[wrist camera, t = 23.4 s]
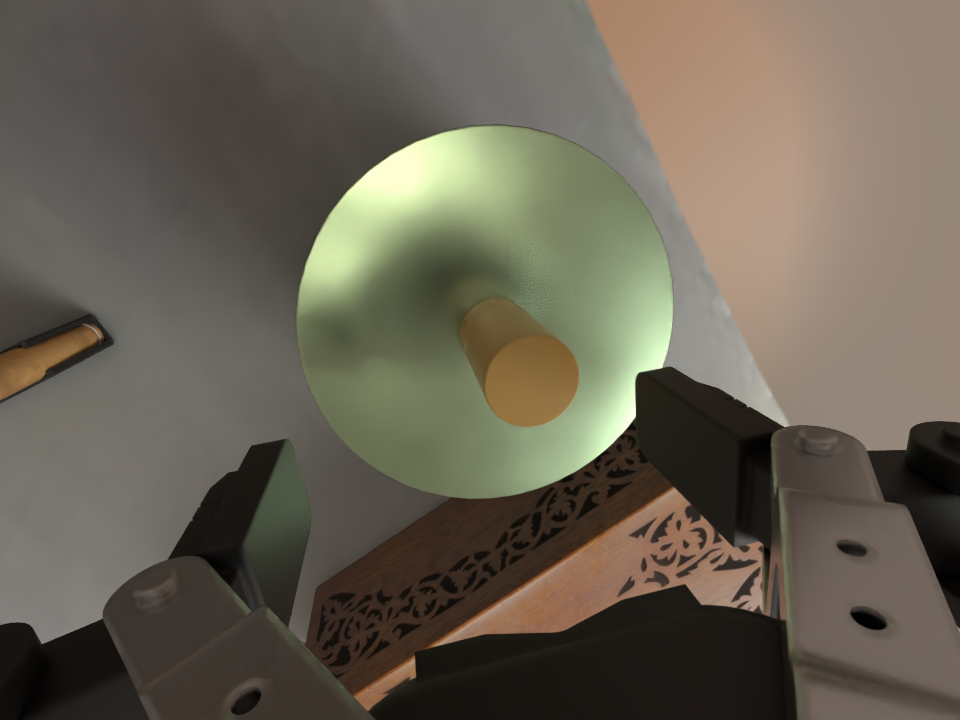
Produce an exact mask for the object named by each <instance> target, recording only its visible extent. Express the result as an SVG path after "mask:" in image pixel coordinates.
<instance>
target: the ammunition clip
mask: <svg viewBox="0 0 960 720" xmlns="http://www.w3.org/2000/svg"><path fill="white" fill-rule="evenodd" d="M113 344H114V341H113V340H112V338H111V337H110V336H109V335H108V333H107V332H106V331H105V330H104V328H103V327H102V326H101V325H100V323H99V322H98V321H97V320H96V319H95V317H94V316H93V315H87V316H85V317H82V318H80V319H77V320H75V321H72V322H70V323H67V324H64V325H62V326H59V327H57V328H54V329H52V330H49V331H47V332H44V333H42V334H39V335H37V336H34V337H32V338H29V339H27V340H24V341H22V342H20V343H18V344H16V345H14V346H12V347H10V348H8V349H6V350H4V351H2V352H0V403H2V402H4V401H6V400H8V399H10V398H12V397H14V396H16V395H18V394H20V393H22V392H24V391H25V390H27V389H29V388H31V387H33V386H35V385H37V384H39V383H41V382H43V381H45V380H47V379H49V378H51V377H53V376H55V375H56V374H58V373H60V372H62V371H64V370H66V369H68V368H70V367H72V366H73V365H75V364H77V363H79V362H81V361H83V360H85V359H87V358H89V357H90V356H92V355H94V354H96V353H98V352H100V351H102V350H104V349H106V348H107V347H109V346H111V345H113Z"/></svg>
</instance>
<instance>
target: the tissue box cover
mask: <svg viewBox="0 0 960 720" xmlns="http://www.w3.org/2000/svg"><path fill="white" fill-rule="evenodd" d="M762 553H763V544H762V543H760V542H755V543H751V544H747V545H743V546H739V547H735V548H733V547H732V546H731V545H730V544H729V543H728V542H727V541H726V540H725V538H724V537H723V536H722V535H721V534H720V533H719V532H718V531H717V530H716V529H715V528H714V527H713V526H712V525H711V524H710V523H709V522H708V521H707V520H706V519H705V518H704V517H703V516H702V515H701V514H700V513H699V512H698V511H697V510H696V509H695V508H694V507H693V506H692V505H691V504H690V503H689V502H688V501H687V500H686V499H685V498H684V497H683V496H682V495H681V494H680V493H679V492H678V491H677V490H676V489H675V488H674V487H673V486H672V485H671V483H670V482H669V481H668V480H667V479H666V478H665V477H664V476H663V475H662V474H661V473H660V472H659V471H658V470H657V469H656V468H655V467H654V466H653V465H652V464H651V463H650V462H649V461H648V460H647V459H646V458H645V457H644V455H643V454H642V452H641V450H640V447H639V444H638V441H637V435H636V417H635V419H634V420H633V421H632V423H631V424H630V425H629V427H628V428H627V429H626V430H625V431H624V432H623V433H622V434H621V435H620V436H619V437H618V439H617V440H616V441H615V442H614V443H613V444H612V445H611V446H610V447H608V448H607V449H606V450H605V451H604V452H602V453H601V454H600V455H599V456H598V457H596V458H595V459H594V460H592V461H591V462H589V463H588V464H586V465H585V466H583V467H582V468H580V469H579V470H577V471H576V472H574V473H572V474H570V475H568V476H566V477H564V478H562V479H561V480H559V481H557V482H554V483H552V484H549V485H546V486H544V487H541V488H539V489H536V490H532V491H528V492H525V493H521V494H517V495H512V496H505V497H498V498H487V499H465V498H454V497H453V498H451V499H450V500H448V501H447V502H445V503H444V504H442V505H441V506H439V507H438V508H436V509H435V510H433V511H432V512H430V513H429V514H427V515H426V516H424V517H423V518H421V519H420V520H418V521H417V522H415V523H414V524H412V525H411V526H409V527H408V528H406V529H405V530H403V531H402V532H400V533H399V534H397V535H396V536H394V537H393V538H391V539H390V540H388V541H387V542H385V543H384V544H382V545H381V546H379V547H378V548H376V549H375V550H373V551H372V552H370V553H369V554H367V555H366V556H364V557H363V558H361V559H360V560H358V561H357V562H355V563H354V564H352V565H351V566H349V567H348V568H346V569H345V570H343V571H342V572H340V573H339V574H337V575H336V576H334V577H333V578H331V579H330V580H328V581H327V582H325V583H324V584H322V585H321V586H319V587H318V588H316V592H315V597H314V602H313V608H312V613H311V618H310V623H309V628H308V634H307V639H306V644H305V646H306V647H307V648H308V649H309V651H310V652H311V653H312V654H313V655H314V656H315V657H316V658H317V659H318V660H319V661H320V662H321V663H322V664H323V665H324V666H325V667H326V668H327V669H328V670H329V671H330V672H331V673H332V675H333V676H334V677H335V678H336V679H337V680H338V681H339V682H340V683H341V684H342V685H343V686H344V687H345V688H346V689H347V690H348V691H349V692H350V693H351V694H352V695H353V696H354V697H355V699H356V700H357V701H358V702H359V703H360V704H361V705H362V706H363V707H364V708H365V709H366V710H367V711H369V710H370V709H371V708H372V707H373V706H374V705H375V704H377V703H378V702H379V701H380V700H382V699H383V698H384V697H385V696H386V695H388V694H389V693H391V692H392V691H394V690H395V689H397V688H398V687H400V686H401V685H403V684H404V683H406V682H408V681H410V680H412V679H413V678H415V677H416V667H415V651H419V650H423V649H427V648H431V647H435V646H439V645H443V644H447V643H451V642H455V641H459V640H463V639H467V638H471V637H475V636H479V635H483V634H511V633H552V632H560V631H564V630H566V629H568V628H570V627H572V626H574V625H576V624H577V623H579V622H581V621H583V620H585V619H587V618H589V617H591V616H592V615H594V614H596V613H598V612H600V611H602V610H604V609H606V608H608V607H609V606H611V605H613V604H615V603H617V602H619V601H621V600H623V599H627V598H631V597H635V596H639V595H643V594H647V593H651V592H655V591H659V590H663V589H667V588H671V587H675V586H679V585H683V584H686V586H687V587H688V588H689V589H690V591H691V592H692V593H693V595H694V596H695V597H696V599H697V600H698V601H699V603H700V604H701V605H718V606H728V607H734V608H740V609H745V610H749V611H753V612H757V613H761V614H763V609H762Z"/></svg>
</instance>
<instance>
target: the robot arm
mask: <svg viewBox="0 0 960 720" xmlns="http://www.w3.org/2000/svg"><path fill="white" fill-rule="evenodd" d="M635 404H636V435H637V441H638V444H639V447H640V450H641V452H642V454H643V455H644V457H645V458H646V459H647V460H648V461H649V462H650V463H651V464H652V465H653V466H654V467H655V468H656V469H657V470H658V471H659V472H660V473H661V474H662V475H663V476H664V477H665V478H666V479H667V480H668V481H669V482H670V483H671V485H672V486H673V487H674V488H675V489H676V490H677V491H678V492H679V493H680V494H681V495H682V496H683V497H684V498H685V499H686V500H687V501H688V502H689V503H690V504H691V505H692V506H693V507H694V508H695V509H696V510H697V511H698V512H699V513H700V514H701V515H702V516H703V517H704V518H705V519H706V520H707V521H708V522H709V523H710V524H711V525H712V526H713V527H714V528H715V529H716V530H717V531H718V532H719V533H720V534H721V535H722V536H723V537H724V538H725V540H726V541H727V542H728V543H729V544H730V545H731V546H732V547H733V548H735V547H739V546H743V545H747V544H751V543H755V542H760V543H762V544H763V553H762V609H763V614H761V613H757V612H753V611H749V610H745V609H740V608H734V607H728V606H718V605H701V604H700V603H699V601H698V600H697V599H696V597H695V596H694V595H693V593H692V592H691V591H690V589H689V588H688V587H687V586H686V584H683V585H679V586H675V587H671V588H667V589H663V590H659V591H655V592H651V593H647V594H643V595H639V596H635V597H631V598H627V599H623V600H621V601H619V602H617V603H615V604H613V605H611V606H609V607H608V608H606V609H604V610H602V611H600V612H598V613H596V614H594V615H592V616H591V617H589V618H587V619H585V620H583V621H581V622H579V623H577V624H576V625H574V626H572V627H570V628H568V629H566V630H564V631H560V632H552V633H511V634H483V635H479V636H475V637H471V638H467V639H463V640H459V641H455V642H451V643H447V644H443V645H439V646H435V647H431V648H427V649H423V650H419V651H415V667H416V677H415V678H413V679H412V680H410V681H408V682H406V683H404V684H403V685H401V686H400V687H398V688H397V689H395V690H394V691H392V692H391V693H389V694H388V695H386V696H385V697H384V698H383V699H382V700H380V701H379V702H378V703H377V704H375V705H374V706H373V707H372V708H371V709H370V710H369V711H367V710H366V709H365V708H364V707H363V706H362V705H361V704H360V703H359V702H358V701H357V700H356V699H355V697H354V696H353V695H352V694H351V693H350V692H349V691H348V690H347V689H346V688H345V687H344V686H343V685H342V684H341V683H340V682H339V681H338V680H337V679H336V678H335V677H334V676H333V675H332V673H331V672H330V671H329V670H328V669H327V668H326V667H325V666H324V665H323V664H322V663H321V662H320V661H319V660H318V659H317V658H316V657H315V656H314V655H313V654H312V653H311V652H310V651H309V649H308V648H307V647H306V646H305V645H304V644H303V643H302V642H301V641H300V640H299V639H298V638H297V637H296V636H295V635H294V634H293V633H292V632H291V631H290V630H289V629H288V626H289V622H290V617H291V613H292V608H293V604H294V599H295V595H296V590H297V586H298V581H299V577H300V572H301V568H302V563H303V559H304V554H305V550H306V545H307V541H308V536H309V532H310V526H311V514H310V506H309V501H308V497H307V493H306V490H305V486H304V483H303V479H302V476H301V472H300V469H299V465H298V462H297V458H296V455H295V451H294V448H293V445H292V443H291V442H290V440H289V439H283V440H278V441H273V442H268V443H262V444H257V445H252V446H251V447H250V449H249V450H248V452H247V454H246V456H245V458H244V460H243V462H242V464H241V466H240V467H239V469H238V471H234V472H229V473H227V474H226V475H225V476H224V477H223V478H222V479H220V480H219V481H218V482H217V483H216V484H215V485H213V486H212V487H211V488H210V489H209V491H208V493H207V494H206V496H205V498H204V499H203V501H202V503H201V507H199V508H198V509H197V511H196V513H195V514H194V516H193V521H190V523H189V525H188V526H187V528H186V530H185V531H184V533H183V535H182V536H181V538H180V540H179V541H178V543H177V545H176V547H175V548H174V550H173V552H172V553H171V555H170V557H169V558H168V560H166V561H163V562H160V563H158V564H155V565H153V566H151V567H149V568H147V569H145V570H143V571H142V572H140V573H138V574H137V575H135V576H134V577H132V578H131V579H129V580H128V581H127V582H126V583H124V584H123V585H122V586H121V587H120V588H119V589H118V590H117V591H116V592H115V593H114V594H113V595H112V596H111V597H110V599H109V600H108V602H107V603H106V605H105V607H104V610H103V619H101V620H99V621H97V622H94V623H92V624H90V625H87V626H85V627H83V628H80V629H78V630H75V631H73V632H71V633H68V634H66V635H63V636H61V637H59V638H56V639H54V640H52V641H49V642H47V643H44V644H41V642H40V640H39V638H38V637H37V635H36V633H35V631H34V629H33V628H32V627H31V626H30V625H28V624H26V623H19V622H17V623H8V624H3V625H0V720H960V633H959V630H958V628H957V627H959V628H960V423H958V422H944V421H935V422H925V423H921V424H917V425H915V426H914V427H912V428H911V430H910V434H909V439H908V444H907V450H887V451H867V450H866V448H865V447H864V445H863V444H862V443H861V442H860V441H858V440H857V439H855V438H854V437H852V436H850V435H848V434H846V433H843V432H840V431H837V430H834V429H830V428H825V427H819V426H808V425H798V426H790V427H783V426H781V425H780V424H778V423H776V422H775V421H773V420H771V419H770V418H768V417H766V416H764V415H763V414H761V413H759V412H758V411H756V410H754V409H753V408H751V407H748V408H747V405H746V404H744V403H742V402H741V401H739V400H737V399H735V400H734V397H732V396H730V395H729V394H727V393H725V392H724V391H722V390H720V389H718V388H716V387H712V386H709V385H706V384H702V383H699V382H696V381H694V380H693V379H691V378H689V377H688V376H686V375H684V374H683V373H681V372H679V371H678V370H676V369H674V368H673V367H665V368H659V369H654V370H649V371H644V372H639V373H638V374H637V376H636V379H635Z"/></svg>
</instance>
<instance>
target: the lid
mask: <svg viewBox="0 0 960 720" xmlns="http://www.w3.org/2000/svg"><path fill="white" fill-rule="evenodd" d="M673 310H674V297H673V280H672V275H671V270H670V265H669V259H668V256H667V253H666V250H665V247H664V243H663V240H662V237H661V235H660V233H659V230H658V228H657V226H656V224H655V222H654V220H653V218H652V216H651V214H650V212H649V211H648V209H647V208H646V206H645V205H644V203H643V202H642V200H641V199H640V198H639V196H638V195H637V193H636V192H635V191H634V190H633V188H632V187H631V186H630V185H629V184H628V183H627V182H626V181H625V180H624V179H623V177H622V176H621V175H620V174H619V173H618V172H616V171H615V170H614V169H613V168H612V167H610V166H609V165H608V164H607V163H606V162H604V161H603V160H602V159H601V158H599V157H598V156H596V155H594V154H593V153H591V152H590V151H588V150H586V149H585V148H583V147H581V146H580V145H578V144H576V143H574V142H571V141H569V140H566V139H564V138H562V137H559V136H557V135H554V134H552V133H548V132H544V131H540V130H536V129H532V128H528V127H521V126H511V125H502V124H493V125H471V126H466V127H461V128H455V129H450V130H445V131H441V132H438V133H436V134H433V135H430V136H427V137H424V138H421V139H418V140H416V141H414V142H412V143H410V144H408V145H406V146H404V147H402V148H400V149H398V150H396V151H394V152H392V153H391V154H389V155H388V156H386V157H385V158H384V159H382V160H381V161H379V162H378V163H377V164H375V165H374V166H372V167H371V168H370V169H368V170H367V171H366V172H365V173H364V174H363V175H362V176H361V177H360V178H359V179H358V180H357V181H355V182H354V183H353V184H352V185H351V186H350V187H349V188H348V189H347V190H346V191H345V193H344V194H343V195H342V197H341V198H340V199H339V200H338V202H337V203H336V204H335V205H334V207H333V208H332V209H331V210H330V212H329V213H328V215H327V217H326V219H325V220H324V222H323V224H322V225H321V227H320V229H319V231H318V232H317V234H316V236H315V238H314V240H313V243H312V245H311V248H310V250H309V253H308V255H307V258H306V260H305V263H304V267H303V271H302V275H301V279H300V283H299V287H298V296H297V306H296V336H297V345H298V350H299V356H300V362H301V366H302V369H303V372H304V375H305V378H306V381H307V384H308V387H309V390H310V392H311V394H312V396H313V398H314V400H315V402H316V404H317V406H318V408H319V410H320V412H321V413H322V415H323V416H324V418H325V419H326V421H327V422H328V424H329V425H330V427H331V428H332V430H333V431H334V432H335V433H336V434H337V435H338V436H339V438H340V439H341V440H342V441H343V442H344V443H345V444H346V445H347V446H348V448H349V449H351V450H352V451H353V452H354V453H355V454H356V455H358V456H359V457H360V458H361V459H362V460H363V461H365V462H366V463H367V464H369V465H370V466H372V467H373V468H375V469H376V470H378V471H379V472H381V473H382V474H384V475H386V476H388V477H390V478H392V479H394V480H396V481H398V482H400V483H402V484H404V485H406V486H409V487H412V488H415V489H418V490H421V491H424V492H427V493H432V494H436V495H441V496H446V497H454V498H465V499H487V498H498V497H505V496H512V495H517V494H521V493H525V492H528V491H532V490H536V489H539V488H541V487H544V486H546V485H549V484H552V483H554V482H557V481H559V480H561V479H562V478H564V477H566V476H568V475H570V474H572V473H574V472H576V471H577V470H579V469H580V468H582V467H583V466H585V465H586V464H588V463H589V462H591V461H592V460H594V459H595V458H596V457H598V456H599V455H600V454H601V453H602V452H604V451H605V450H606V449H607V448H608V447H610V446H611V445H612V444H613V443H614V442H615V441H616V440H617V439H618V437H619V436H620V435H621V434H622V433H623V432H624V431H625V430H626V429H627V428H628V427H629V425H630V424H631V423H632V421H633V420H634V419H635V417H636V404H635V379H636V376H637V374H638V373H639V372H644V371H649V370H654V369H659V368H662V367H663V364H664V361H665V358H666V354H667V351H668V347H669V342H670V337H671V332H672V325H673Z"/></svg>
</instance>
